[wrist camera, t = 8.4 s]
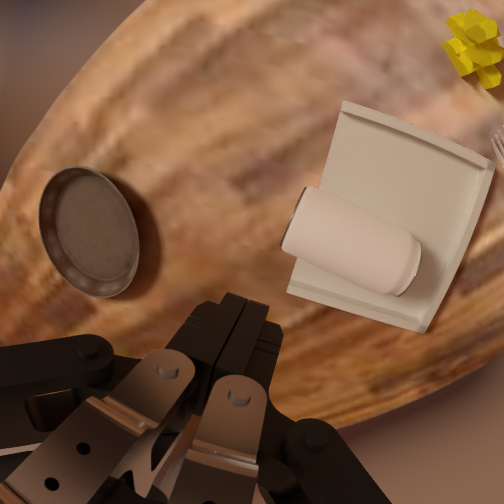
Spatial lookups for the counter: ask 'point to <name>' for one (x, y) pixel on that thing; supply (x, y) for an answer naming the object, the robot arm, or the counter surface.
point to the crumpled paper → (475, 46)
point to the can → (352, 243)
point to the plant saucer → (89, 231)
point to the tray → (400, 210)
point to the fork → (502, 160)
